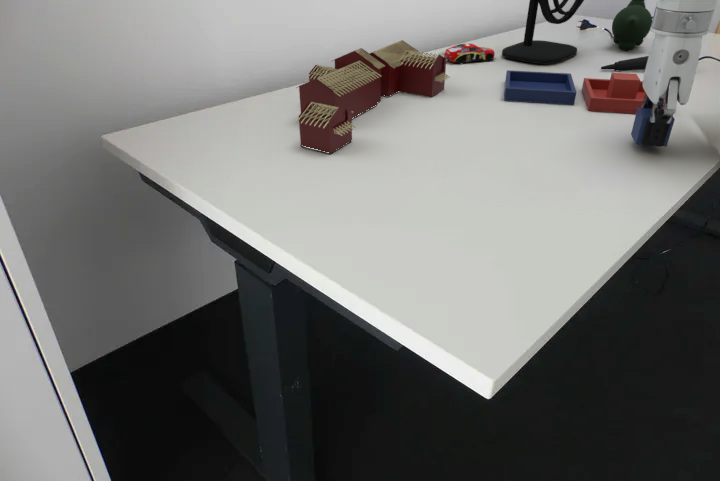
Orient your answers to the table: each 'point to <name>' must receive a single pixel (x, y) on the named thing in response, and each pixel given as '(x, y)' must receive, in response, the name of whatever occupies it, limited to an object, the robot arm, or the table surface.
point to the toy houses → (362, 89)
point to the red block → (623, 86)
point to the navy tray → (539, 87)
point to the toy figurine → (631, 25)
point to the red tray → (600, 102)
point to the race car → (468, 53)
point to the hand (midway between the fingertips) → (648, 138)
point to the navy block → (640, 125)
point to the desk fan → (543, 49)
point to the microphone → (628, 64)
